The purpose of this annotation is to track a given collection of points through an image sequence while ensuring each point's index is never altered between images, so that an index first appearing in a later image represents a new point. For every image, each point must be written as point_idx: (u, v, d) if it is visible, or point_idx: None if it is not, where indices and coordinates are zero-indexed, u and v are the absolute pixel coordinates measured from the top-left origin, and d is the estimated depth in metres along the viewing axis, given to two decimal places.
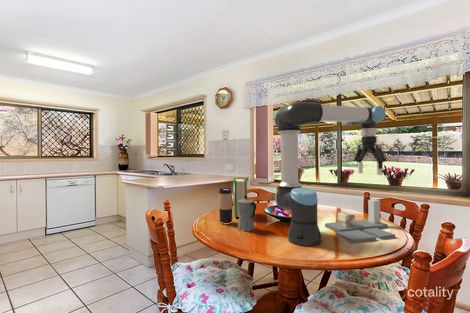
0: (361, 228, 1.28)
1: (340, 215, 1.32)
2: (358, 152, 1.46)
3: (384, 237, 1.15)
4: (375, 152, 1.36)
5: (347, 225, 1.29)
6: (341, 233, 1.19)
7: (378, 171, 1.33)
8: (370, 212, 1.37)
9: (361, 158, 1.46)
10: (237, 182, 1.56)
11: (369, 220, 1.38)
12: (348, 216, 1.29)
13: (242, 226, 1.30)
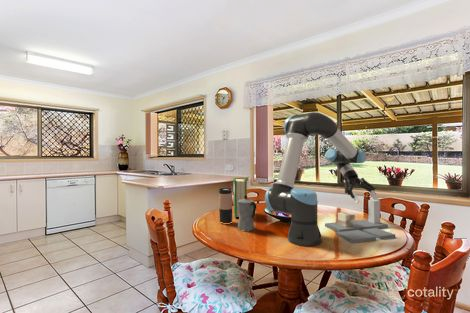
0: (361, 228, 1.28)
1: (340, 215, 1.32)
2: None
3: (384, 237, 1.15)
4: None
5: (347, 225, 1.29)
6: (341, 233, 1.19)
7: None
8: (370, 212, 1.37)
9: None
10: (237, 182, 1.56)
11: (369, 220, 1.38)
12: (348, 216, 1.29)
13: (242, 226, 1.30)
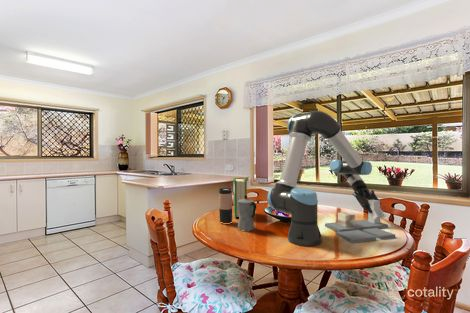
0: (361, 228, 1.28)
1: (340, 215, 1.32)
2: (360, 196, 1.40)
3: (384, 237, 1.15)
4: None
5: (347, 225, 1.29)
6: (341, 233, 1.19)
7: None
8: None
9: None
10: (237, 182, 1.56)
11: (369, 220, 1.38)
12: (348, 216, 1.29)
13: (242, 226, 1.30)
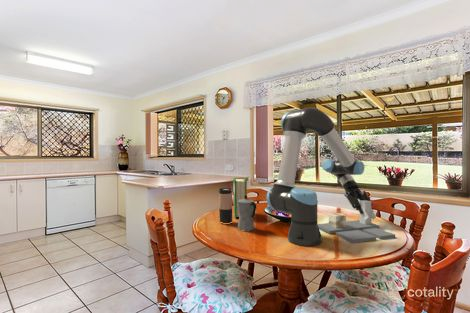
0: (351, 229, 1.26)
1: (331, 216, 1.31)
2: (352, 197, 1.39)
3: (384, 237, 1.15)
4: None
5: (338, 226, 1.27)
6: (341, 233, 1.19)
7: None
8: None
9: None
10: (237, 182, 1.56)
11: (360, 221, 1.36)
12: (338, 217, 1.28)
13: (242, 226, 1.30)
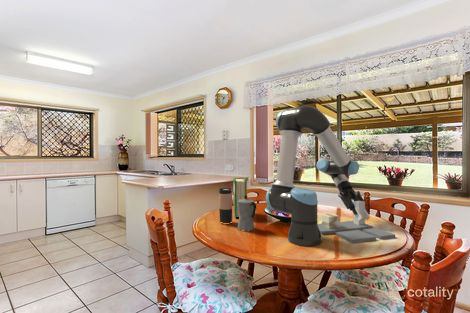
0: (345, 230, 1.25)
1: (324, 216, 1.30)
2: (345, 197, 1.37)
3: (384, 237, 1.15)
4: None
5: (331, 227, 1.26)
6: (341, 233, 1.19)
7: None
8: None
9: None
10: (237, 182, 1.56)
11: (354, 221, 1.35)
12: (332, 218, 1.27)
13: (242, 226, 1.30)
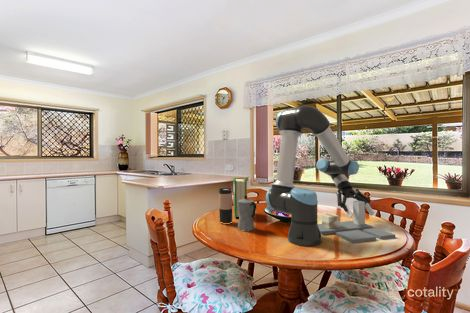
0: (344, 230, 1.25)
1: (324, 216, 1.30)
2: None
3: (384, 237, 1.15)
4: None
5: (330, 227, 1.26)
6: (341, 233, 1.19)
7: None
8: (355, 213, 1.34)
9: None
10: (237, 182, 1.56)
11: (354, 222, 1.35)
12: (331, 218, 1.26)
13: (242, 226, 1.30)
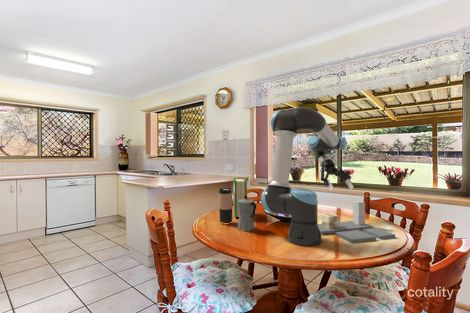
0: (344, 230, 1.25)
1: (324, 216, 1.30)
2: None
3: (384, 237, 1.15)
4: None
5: (330, 227, 1.26)
6: (341, 233, 1.19)
7: None
8: (355, 213, 1.34)
9: None
10: (237, 182, 1.56)
11: (354, 222, 1.35)
12: (331, 218, 1.26)
13: (242, 226, 1.30)
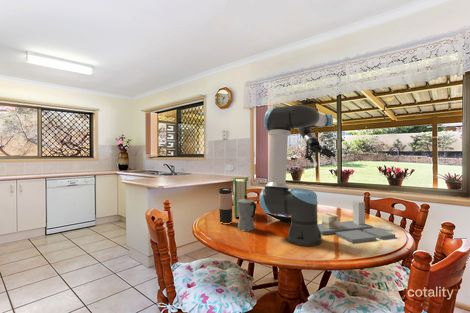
0: (344, 230, 1.25)
1: (324, 216, 1.30)
2: (308, 150, 1.53)
3: (384, 237, 1.15)
4: None
5: (330, 227, 1.26)
6: (341, 233, 1.19)
7: None
8: (355, 213, 1.34)
9: (311, 155, 1.51)
10: (237, 182, 1.56)
11: (354, 222, 1.35)
12: (331, 218, 1.26)
13: (242, 226, 1.30)
